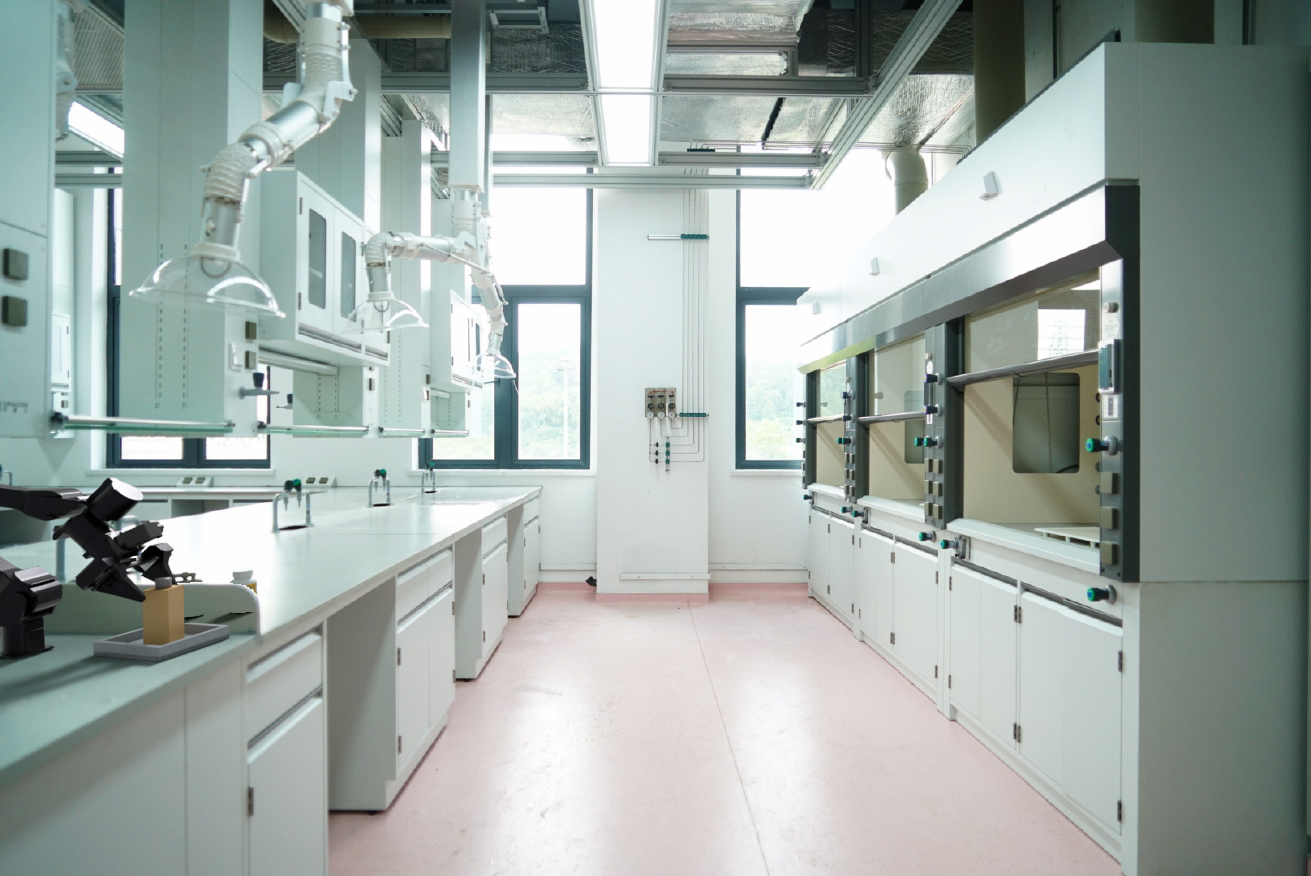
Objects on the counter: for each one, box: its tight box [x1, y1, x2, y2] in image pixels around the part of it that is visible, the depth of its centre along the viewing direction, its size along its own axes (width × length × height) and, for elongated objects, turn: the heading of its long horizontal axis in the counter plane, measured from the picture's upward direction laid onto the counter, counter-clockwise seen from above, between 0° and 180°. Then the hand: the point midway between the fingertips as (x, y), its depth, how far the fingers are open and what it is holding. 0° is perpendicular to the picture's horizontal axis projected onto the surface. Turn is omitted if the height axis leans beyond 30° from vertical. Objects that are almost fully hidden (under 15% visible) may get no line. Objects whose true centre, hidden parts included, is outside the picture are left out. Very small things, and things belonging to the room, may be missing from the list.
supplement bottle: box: [229, 568, 258, 595], centre depth 149 cm, size 5×5×10 cm
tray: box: [92, 622, 231, 662], centre depth 124 cm, size 16×14×2 cm
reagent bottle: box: [141, 577, 185, 646], centre depth 124 cm, size 5×5×12 cm
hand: (160, 594), depth 124 cm, fingers open, 9 cm apart
